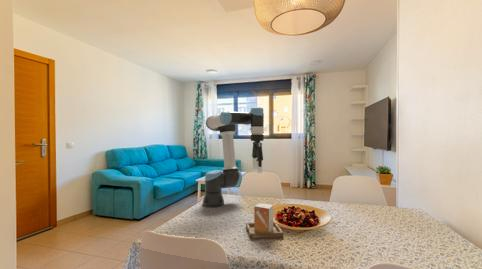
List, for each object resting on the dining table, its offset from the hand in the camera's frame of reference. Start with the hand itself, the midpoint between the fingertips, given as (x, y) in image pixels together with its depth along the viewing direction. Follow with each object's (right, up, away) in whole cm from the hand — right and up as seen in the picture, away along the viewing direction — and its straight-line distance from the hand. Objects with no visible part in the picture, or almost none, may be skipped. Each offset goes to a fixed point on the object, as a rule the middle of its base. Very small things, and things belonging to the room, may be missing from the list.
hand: (257, 170), depth 134 cm
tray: (+2, -29, -17) cm, 33 cm away
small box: (+2, -28, -17) cm, 33 cm away
